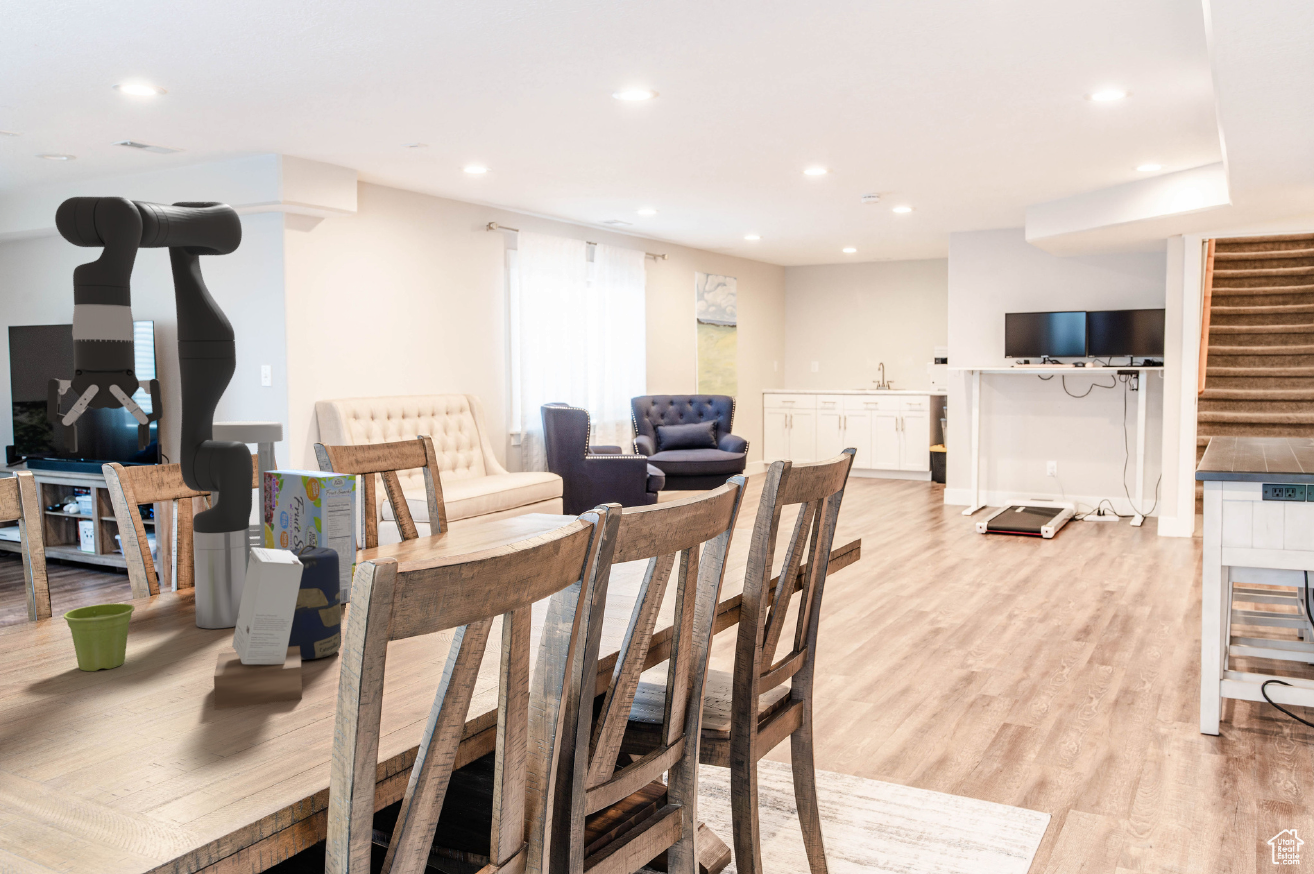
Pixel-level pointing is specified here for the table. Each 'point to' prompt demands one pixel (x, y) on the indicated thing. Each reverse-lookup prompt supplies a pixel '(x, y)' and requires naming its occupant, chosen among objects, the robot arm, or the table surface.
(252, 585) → the skincare box
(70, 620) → the plant pot
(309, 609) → the canister
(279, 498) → the snack box
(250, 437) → the stool
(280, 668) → the walnut block
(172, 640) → the table surface
